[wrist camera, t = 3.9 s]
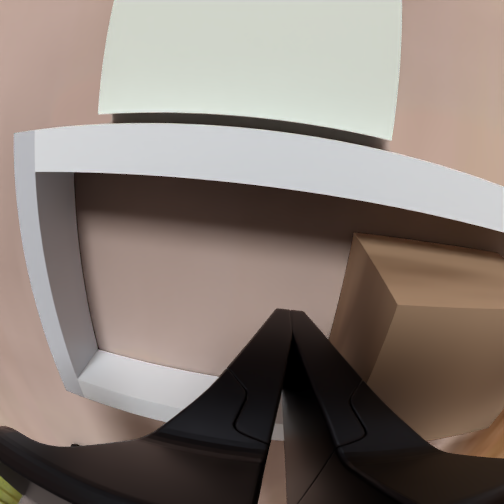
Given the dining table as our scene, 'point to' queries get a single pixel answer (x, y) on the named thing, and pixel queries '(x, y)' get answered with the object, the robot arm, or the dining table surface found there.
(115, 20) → the coaster
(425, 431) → the block
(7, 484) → the plant pot
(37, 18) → the dining table surface
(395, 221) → the dining table surface
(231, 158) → the channel
